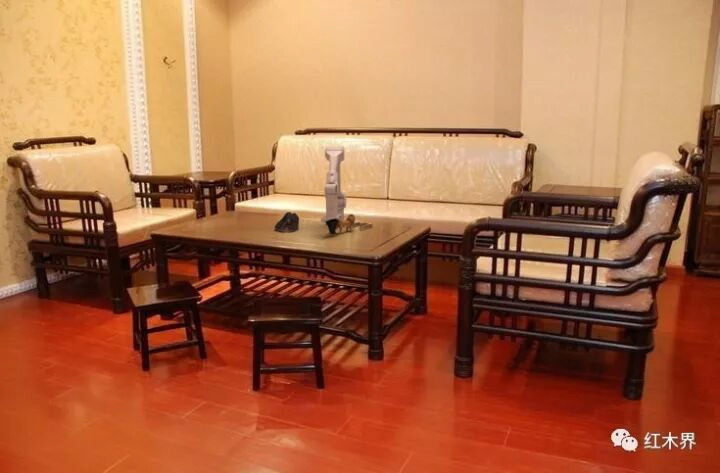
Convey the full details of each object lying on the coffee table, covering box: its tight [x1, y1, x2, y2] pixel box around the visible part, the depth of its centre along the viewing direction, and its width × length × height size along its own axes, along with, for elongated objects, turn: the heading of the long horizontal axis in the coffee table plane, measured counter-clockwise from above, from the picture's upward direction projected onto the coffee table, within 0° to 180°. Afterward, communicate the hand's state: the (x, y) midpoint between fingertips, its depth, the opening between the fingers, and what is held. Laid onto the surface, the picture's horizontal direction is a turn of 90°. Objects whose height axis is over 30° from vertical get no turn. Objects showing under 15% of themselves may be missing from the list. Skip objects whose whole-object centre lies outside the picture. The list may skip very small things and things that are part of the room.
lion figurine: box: [335, 213, 356, 235], centre depth 300 cm, size 15×5×9 cm, turn 138°
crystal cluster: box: [274, 211, 300, 233], centre depth 307 cm, size 13×14×10 cm
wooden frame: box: [348, 221, 373, 232], centre depth 311 cm, size 9×10×2 cm
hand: (332, 233), depth 294 cm, fingers closed
